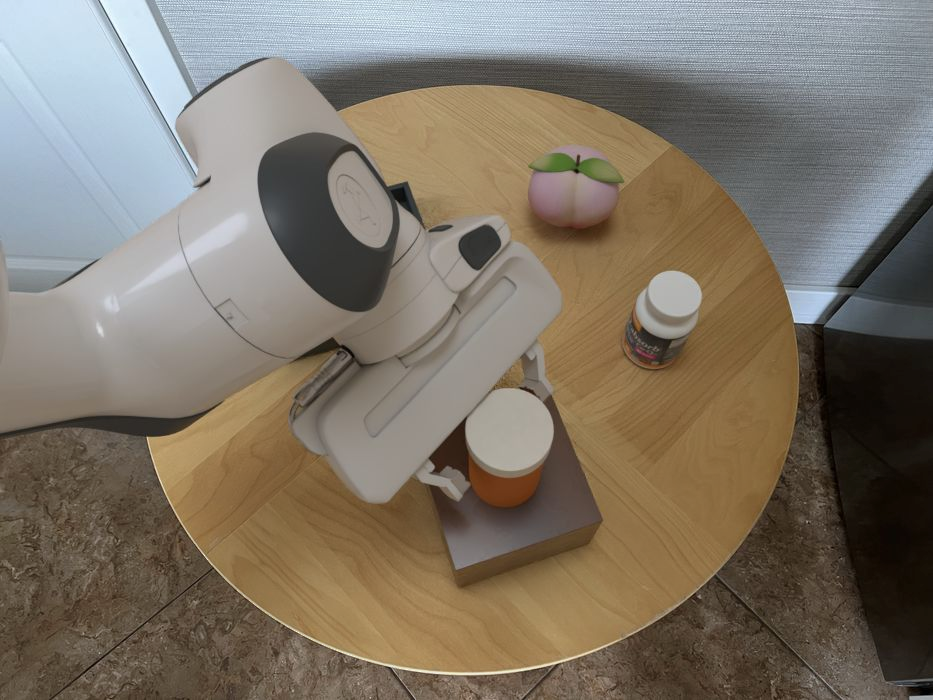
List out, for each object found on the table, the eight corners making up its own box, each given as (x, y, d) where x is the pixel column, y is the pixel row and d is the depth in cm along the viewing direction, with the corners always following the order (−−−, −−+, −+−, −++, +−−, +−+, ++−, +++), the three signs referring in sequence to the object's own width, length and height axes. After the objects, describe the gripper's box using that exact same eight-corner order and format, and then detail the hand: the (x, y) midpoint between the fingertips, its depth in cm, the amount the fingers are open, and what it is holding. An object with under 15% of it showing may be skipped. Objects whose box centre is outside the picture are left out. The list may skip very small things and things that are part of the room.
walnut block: (457, 588, 64) (455, 570, 57) (417, 459, 69) (410, 428, 62) (589, 543, 65) (603, 520, 58) (540, 420, 70) (547, 385, 63)
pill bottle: (609, 343, 74) (627, 290, 65) (648, 309, 76) (671, 253, 67) (652, 382, 72) (677, 334, 63) (692, 346, 74) (721, 294, 65)
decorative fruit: (610, 188, 83) (627, 122, 74) (612, 250, 79) (629, 189, 70) (524, 184, 83) (530, 118, 74) (522, 246, 79) (528, 184, 70)
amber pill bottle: (480, 520, 58) (481, 482, 49) (456, 450, 61) (453, 402, 52) (553, 496, 59) (567, 455, 50) (526, 428, 62) (535, 377, 53)
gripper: (290, 423, 43) (428, 570, 48) (517, 200, 49) (614, 352, 55) (257, 405, 48) (385, 540, 54) (466, 206, 55) (560, 345, 61)
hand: (503, 443), depth 55 cm, fingers open, 8 cm apart
